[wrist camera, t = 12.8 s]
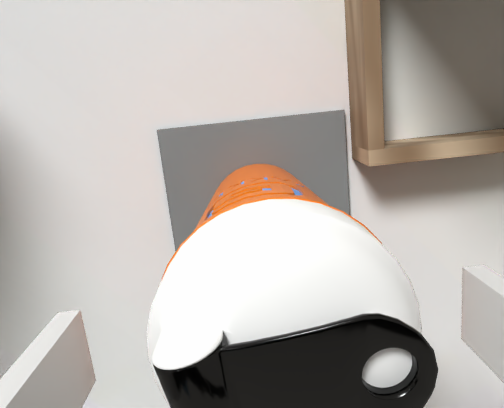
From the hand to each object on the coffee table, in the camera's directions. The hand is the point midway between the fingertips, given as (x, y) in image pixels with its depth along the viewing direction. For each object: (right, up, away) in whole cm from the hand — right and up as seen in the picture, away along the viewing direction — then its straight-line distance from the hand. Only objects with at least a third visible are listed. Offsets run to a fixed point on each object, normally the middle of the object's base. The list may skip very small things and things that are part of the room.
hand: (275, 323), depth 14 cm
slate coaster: (0, +4, +16) cm, 17 cm away
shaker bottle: (0, +4, +16) cm, 17 cm away
